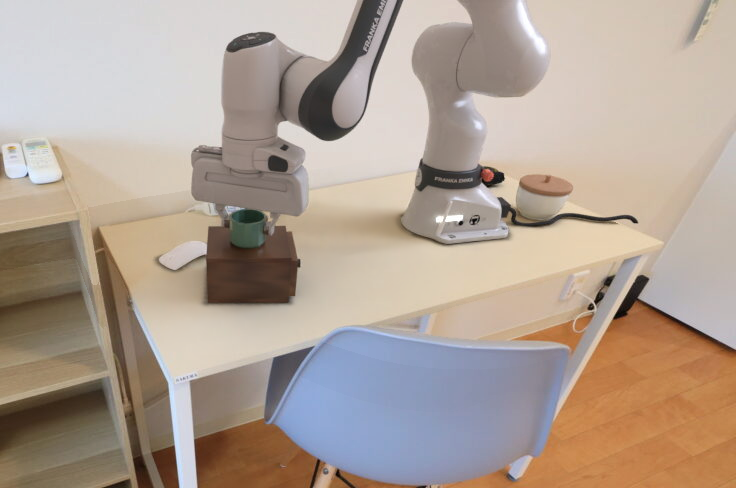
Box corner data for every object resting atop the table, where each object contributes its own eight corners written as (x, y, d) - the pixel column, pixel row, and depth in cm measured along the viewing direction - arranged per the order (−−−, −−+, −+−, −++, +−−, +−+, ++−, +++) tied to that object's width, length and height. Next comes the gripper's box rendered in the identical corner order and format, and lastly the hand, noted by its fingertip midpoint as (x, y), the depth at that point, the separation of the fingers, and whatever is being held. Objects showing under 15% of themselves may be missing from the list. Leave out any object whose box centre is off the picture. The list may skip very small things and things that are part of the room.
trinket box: (536, 228, 116) (552, 187, 110) (499, 210, 123) (512, 171, 118) (570, 219, 119) (588, 179, 113) (532, 202, 127) (546, 164, 121)
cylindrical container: (270, 236, 94) (271, 211, 91) (257, 252, 90) (258, 226, 87) (237, 230, 96) (238, 206, 93) (224, 245, 92) (223, 220, 89)
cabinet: (282, 267, 103) (285, 225, 98) (288, 302, 93) (291, 257, 88) (209, 268, 104) (208, 226, 98) (207, 303, 94) (206, 258, 88)
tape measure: (481, 190, 133) (485, 176, 131) (463, 181, 138) (467, 167, 136) (502, 186, 135) (507, 172, 133) (483, 177, 140) (488, 163, 138)
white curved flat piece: (154, 259, 107) (153, 249, 105) (201, 242, 112) (201, 232, 111) (173, 272, 102) (172, 261, 101) (220, 253, 108) (220, 243, 107)
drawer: (295, 265, 102) (298, 231, 98) (301, 296, 93) (305, 260, 89) (221, 265, 103) (220, 231, 98) (220, 297, 94) (219, 261, 89)
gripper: (182, 149, 84) (187, 228, 92) (304, 164, 78) (297, 247, 86) (198, 138, 89) (201, 214, 97) (315, 151, 82) (307, 231, 91)
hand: (247, 230), depth 92 cm, fingers closed on cylindrical container, 6 cm apart
